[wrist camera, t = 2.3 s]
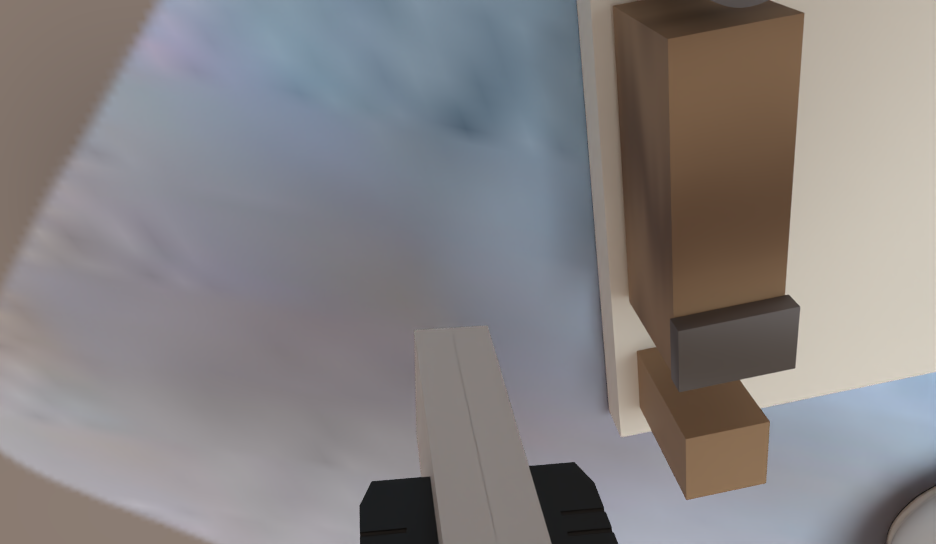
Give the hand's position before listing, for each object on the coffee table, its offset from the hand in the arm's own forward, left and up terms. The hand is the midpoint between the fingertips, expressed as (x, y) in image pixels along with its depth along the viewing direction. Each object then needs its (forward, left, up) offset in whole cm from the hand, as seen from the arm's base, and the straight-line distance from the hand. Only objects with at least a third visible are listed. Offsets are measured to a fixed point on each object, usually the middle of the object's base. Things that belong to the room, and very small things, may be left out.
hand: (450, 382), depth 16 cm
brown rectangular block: (-7, -1, -7) cm, 10 cm away
